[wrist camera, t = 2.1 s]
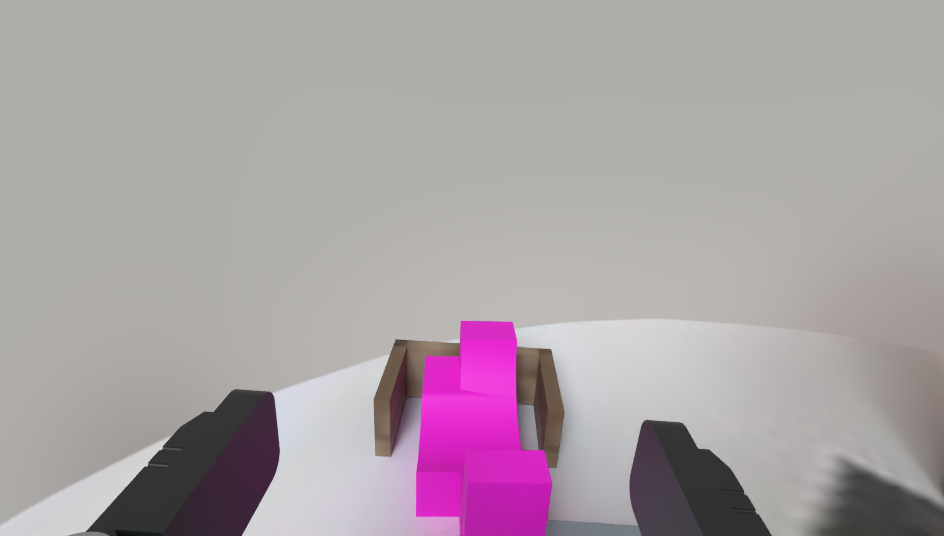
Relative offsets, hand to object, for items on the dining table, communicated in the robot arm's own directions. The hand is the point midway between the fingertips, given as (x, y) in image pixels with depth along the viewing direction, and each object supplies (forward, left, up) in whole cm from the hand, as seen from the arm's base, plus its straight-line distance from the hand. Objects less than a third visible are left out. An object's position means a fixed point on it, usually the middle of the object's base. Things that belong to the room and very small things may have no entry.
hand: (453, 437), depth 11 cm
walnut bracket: (0, -21, -16) cm, 26 cm away
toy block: (0, -15, -17) cm, 23 cm away
